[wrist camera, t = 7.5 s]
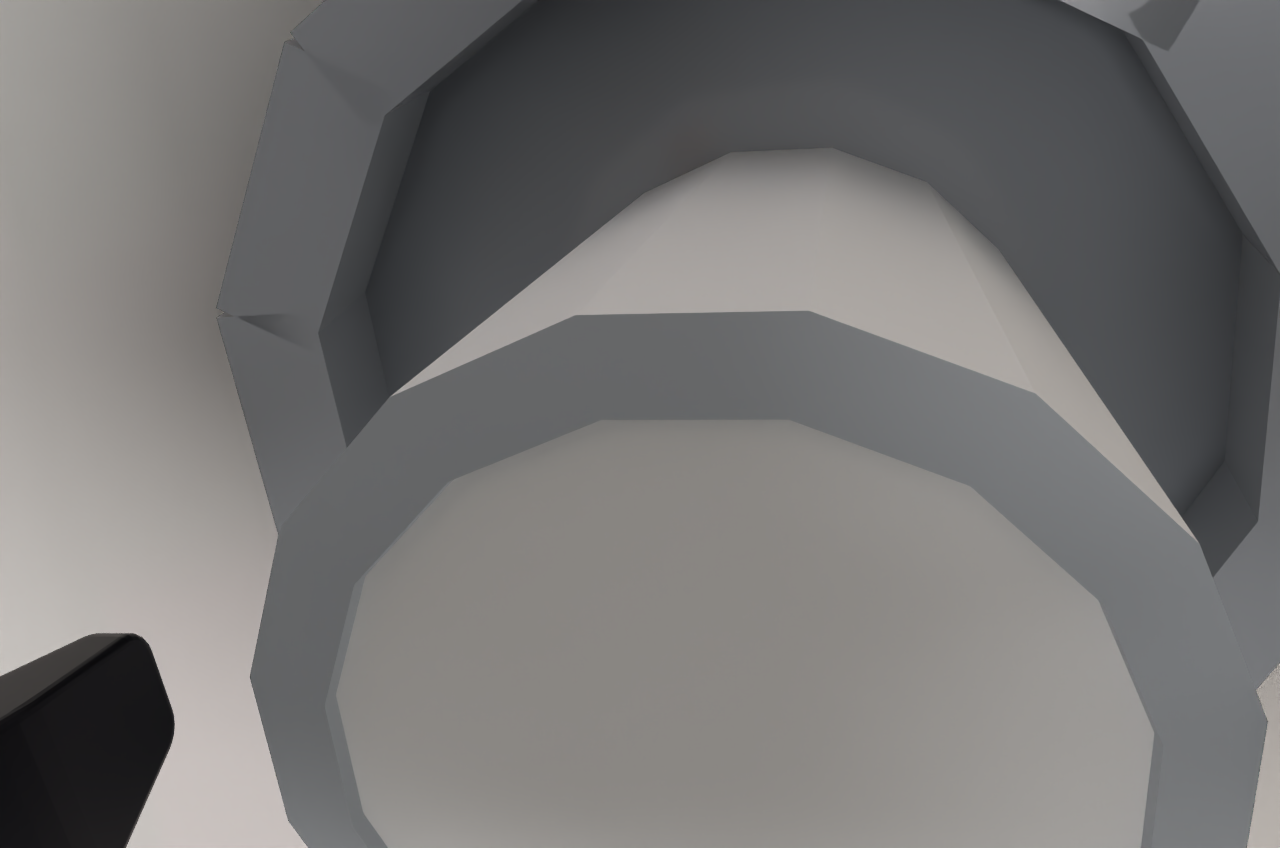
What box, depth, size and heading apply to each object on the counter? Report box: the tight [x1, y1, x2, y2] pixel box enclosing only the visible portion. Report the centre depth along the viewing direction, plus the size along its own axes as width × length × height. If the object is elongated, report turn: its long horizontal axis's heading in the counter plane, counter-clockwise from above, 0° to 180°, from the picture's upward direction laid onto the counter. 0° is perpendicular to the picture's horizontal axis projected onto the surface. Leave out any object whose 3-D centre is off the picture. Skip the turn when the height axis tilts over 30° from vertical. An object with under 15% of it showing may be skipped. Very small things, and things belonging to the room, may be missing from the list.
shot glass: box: [250, 148, 1268, 848], centre depth 11 cm, size 7×7×7 cm
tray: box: [216, 0, 1280, 690], centre depth 14 cm, size 12×12×2 cm
